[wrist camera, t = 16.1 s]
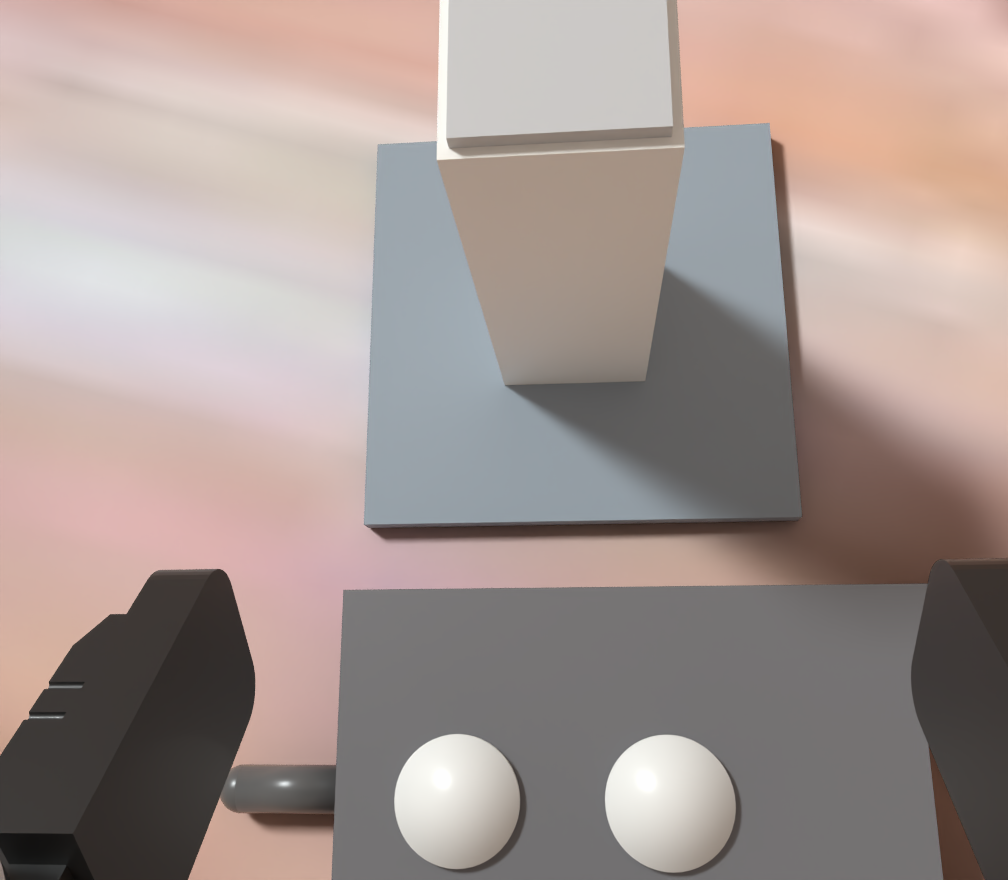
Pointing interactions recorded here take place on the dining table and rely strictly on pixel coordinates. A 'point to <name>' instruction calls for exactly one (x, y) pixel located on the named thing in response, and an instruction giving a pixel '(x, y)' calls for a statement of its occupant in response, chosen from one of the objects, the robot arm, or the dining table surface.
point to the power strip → (622, 736)
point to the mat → (585, 406)
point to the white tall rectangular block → (563, 175)
